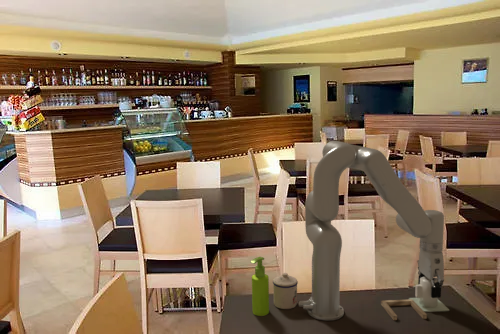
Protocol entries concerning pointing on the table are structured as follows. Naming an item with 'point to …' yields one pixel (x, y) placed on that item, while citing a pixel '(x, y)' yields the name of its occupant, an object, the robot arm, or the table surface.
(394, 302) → the oak stall
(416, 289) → the labeled white canister
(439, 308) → the sage tile
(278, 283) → the teacup with lid
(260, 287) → the soap dispenser
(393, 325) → the table surface
